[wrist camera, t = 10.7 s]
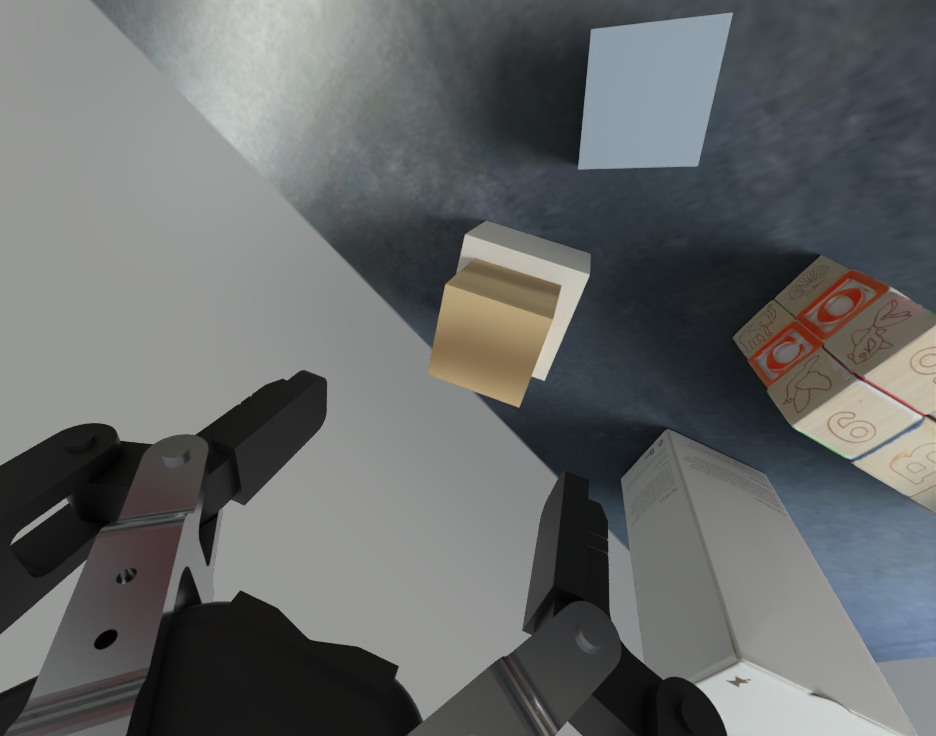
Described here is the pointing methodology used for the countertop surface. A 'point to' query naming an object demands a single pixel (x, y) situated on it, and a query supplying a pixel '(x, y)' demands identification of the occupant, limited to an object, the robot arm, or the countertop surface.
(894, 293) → the stack of blocks
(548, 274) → the base block
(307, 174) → the countertop surface
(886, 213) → the countertop surface
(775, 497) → the skincare box
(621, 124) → the slate cube
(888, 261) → the countertop surface
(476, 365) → the maple cube
